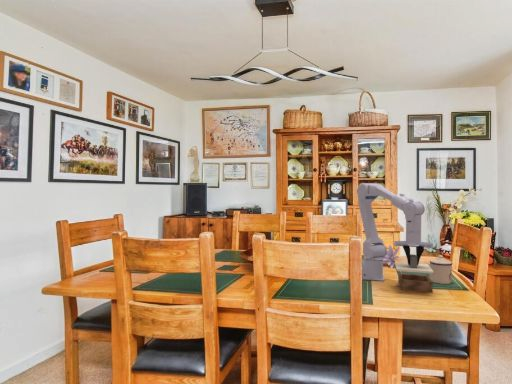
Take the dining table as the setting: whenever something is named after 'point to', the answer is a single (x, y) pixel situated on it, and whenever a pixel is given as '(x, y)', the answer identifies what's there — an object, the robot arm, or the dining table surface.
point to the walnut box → (415, 282)
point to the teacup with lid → (441, 270)
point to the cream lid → (413, 266)
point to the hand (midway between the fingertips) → (413, 264)
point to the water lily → (390, 257)
